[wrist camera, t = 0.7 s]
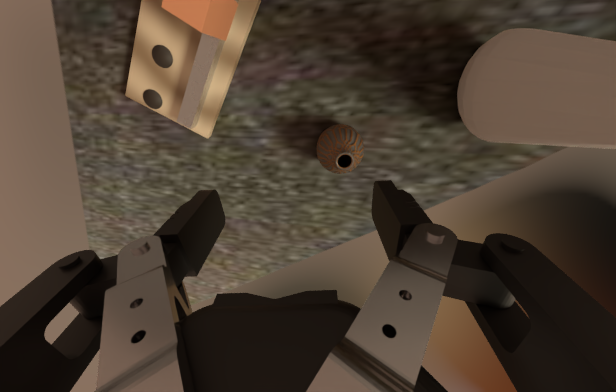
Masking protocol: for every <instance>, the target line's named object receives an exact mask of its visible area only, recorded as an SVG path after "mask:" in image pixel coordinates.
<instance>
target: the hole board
mask: <svg viewBox="0 0 616 392" xmlns="http://www.w3.org/2000/svg"><path fill="white" fill-rule="evenodd" d="M162 1H163V0H142V1H141V7H140V13H139V18H138V24H137V30H136V36H135V42H134V48H133V53H132V59H131V65H130V71H129V77H128V83H127V89H126V94H125V96H127V97H129V98H131V99H133V100H135V101H137V102H139V103H140V104H142V105H144V106H146V107H148V108H150V109H152V110H154V111H156V112H158V113H160V114H162V115H163V116H165V117H167V118H169V119H171V120H173V121H175V122H177V118H178V115H179V112H180V108H181V105H182V101H183V98H184V94H185V91H186V87H187V84H188V80H189V77H190V74H191V70H192V67H193V63H194V60H195V56H196V53H197V49H198V46H199V43H200V39H201V36H202V33H201V32H200V31H198V30H197V29H195V28H194V27H192V26H190V25H189V24H187V23H186V22H184V21H183V20H181V19H179V18H178V17H176V16H175V15H173V14H172V13H170V12H168V11H167V10H165V9H164V8H162V7H161V6H162ZM260 2H261V0H239V1H238V7H237V10H236V13H235V16H234V19H233V22H232V25H231V28H230V31H229V33H228V36H227V39H226V41H225V43H224V46H223V49H222V52H221V55H220V58H219V61H218V64H217V67H216V70H215V73H214V76H213V79H212V82H211V85H210V88H209V91H208V94H207V97H206V100H205V103H204V106H203V109H202V112H201V115H200V118H199V121H198V124H197V126H196V127H194V128H192V129H190V128H188V127H186V126H185V127H186V128H188V129H190V130H192V131H194V132H196V133H198V134H200V135H202V136H204V137H206V138H209V137H210V136H211V134H212V131H213V128H214V126H215V123H216V120H217V117H218V115H219V112H220V109H221V107H222V104H223V101H224V99H225V96H226V93H227V91H228V88H229V85H230V83H231V80H232V77H233V75H234V72H235V69H236V67H237V64H238V61H239V59H240V56H241V53H242V51H243V48H244V45H245V43H246V40H247V37H248V34H249V32H250V29H251V26H252V24H253V21H254V18H255V16H256V13H257V10H258V8H259V5H260ZM177 123H178V122H177ZM179 124H180V123H179ZM181 125H182V124H181ZM183 126H184V125H183Z"/></svg>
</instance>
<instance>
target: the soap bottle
mask: <svg viewBox="0 0 616 392" xmlns="http://www.w3.org/2000/svg"><path fill="white" fill-rule="evenodd" d="M457 101H458V110H459V114H460V116H461V118H462V121H463V123H464V124H465V126H466V127H467V128H468V130H469V131H470V132H471V133H473V134H474V135H475V136H477V137H478V138H479V139H482V140H485V141H488V142H503V143H520V144H537V145H554V146H571V147H589V148H606V149H616V42H615V41H609V40H602V39H596V38H590V37H583V36H577V35H571V34H564V33H558V32H552V31H545V30H539V29H527V28H517V29H509V30H504V31H503V32H501V33H499V34H498V35H496V36H495V37H493V38H491V39H490V40H488V41H487V42H486V43H485V44H483V45H482V46H481V47H479V48H478V50H477V51H476V52H475V54H474V55H473V56H472V57H471V59H470V60H469V61H468V63H467V65H466V66H465V69H464V71H463V73H462V76H461V78H460V80H459V86H458V91H457Z"/></svg>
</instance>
